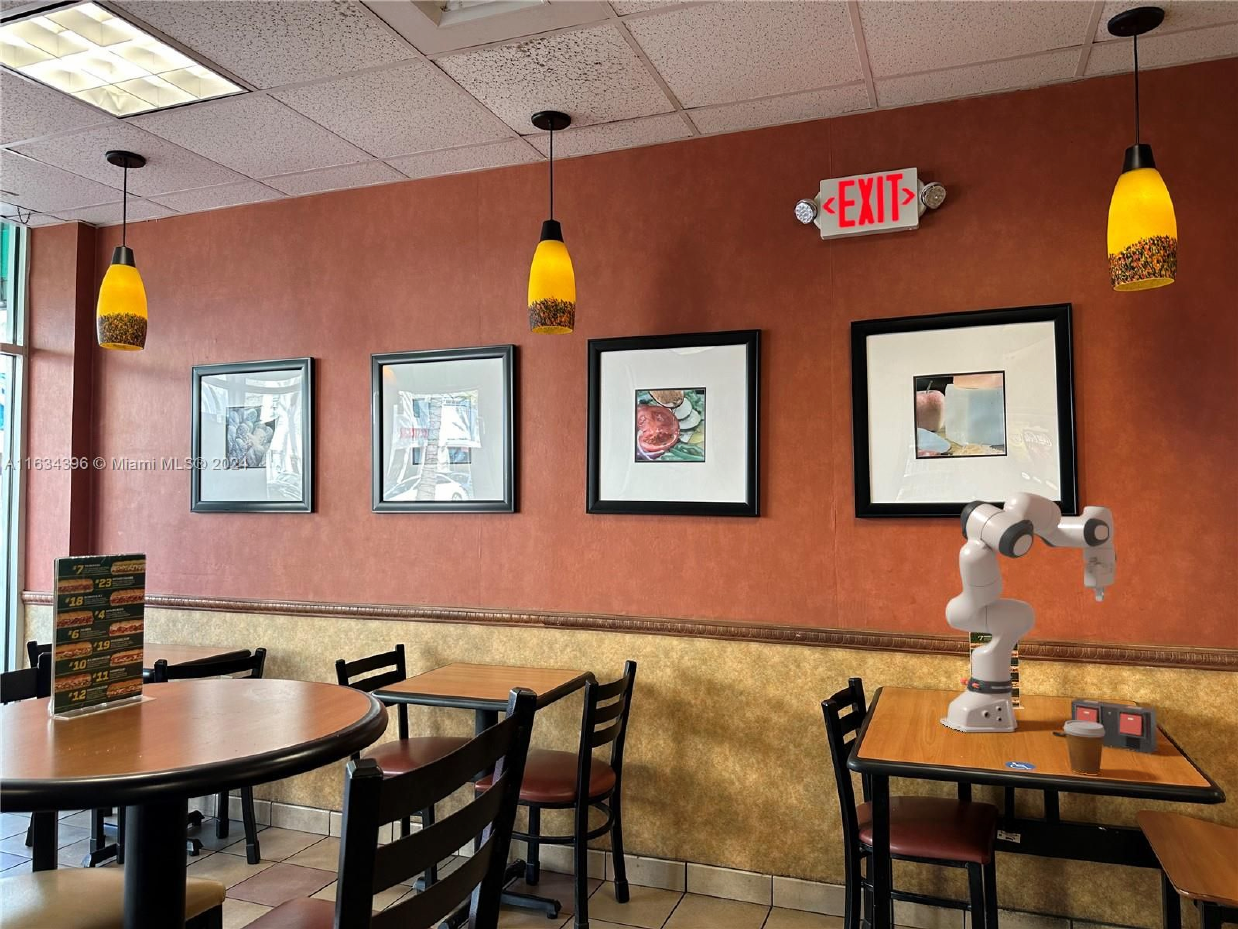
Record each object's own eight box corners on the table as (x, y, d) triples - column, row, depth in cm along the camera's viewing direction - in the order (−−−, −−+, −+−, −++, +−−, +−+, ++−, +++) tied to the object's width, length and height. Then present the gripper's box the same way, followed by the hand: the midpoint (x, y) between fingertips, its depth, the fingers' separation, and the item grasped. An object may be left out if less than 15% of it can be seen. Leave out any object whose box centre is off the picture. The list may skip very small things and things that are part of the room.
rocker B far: (1141, 735, 238) (1142, 716, 239) (1140, 735, 237) (1141, 716, 238) (1120, 732, 241) (1121, 714, 242) (1119, 732, 240) (1120, 713, 242)
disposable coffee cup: (1105, 780, 216) (1104, 731, 217) (1062, 774, 221) (1061, 726, 222) (1107, 770, 224) (1106, 722, 225) (1066, 764, 229) (1065, 718, 230)
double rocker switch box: (1157, 749, 242) (1155, 708, 242) (1151, 755, 237) (1149, 712, 237) (1056, 733, 260) (1055, 694, 260) (1049, 737, 255) (1048, 698, 255)
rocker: (1097, 728, 245) (1097, 710, 247) (1095, 728, 245) (1096, 710, 246) (1077, 725, 249) (1078, 707, 250) (1076, 725, 248) (1077, 707, 249)
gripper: (1100, 559, 268) (1101, 604, 268) (1118, 555, 283) (1119, 598, 282) (1078, 558, 272) (1079, 603, 272) (1097, 555, 287) (1098, 597, 287)
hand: (1100, 600), depth 277 cm, fingers closed
